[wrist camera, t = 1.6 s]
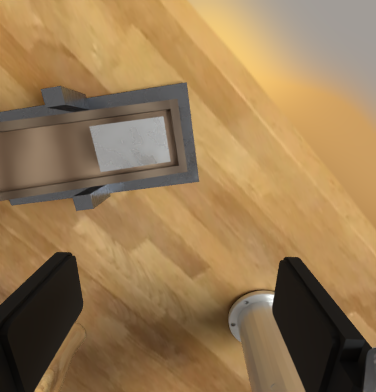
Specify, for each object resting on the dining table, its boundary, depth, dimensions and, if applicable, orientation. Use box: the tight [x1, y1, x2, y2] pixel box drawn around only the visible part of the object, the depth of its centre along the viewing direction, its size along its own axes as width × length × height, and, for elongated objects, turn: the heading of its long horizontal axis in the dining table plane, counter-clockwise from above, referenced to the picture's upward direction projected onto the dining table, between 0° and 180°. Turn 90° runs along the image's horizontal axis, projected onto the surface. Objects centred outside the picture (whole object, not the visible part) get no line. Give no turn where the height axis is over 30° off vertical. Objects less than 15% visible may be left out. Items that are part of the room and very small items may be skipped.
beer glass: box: [34, 322, 86, 392], centre depth 37 cm, size 7×7×15 cm
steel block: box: [89, 116, 171, 172], centre depth 26 cm, size 8×5×4 cm, turn 98°
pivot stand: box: [0, 82, 199, 211], centre depth 31 cm, size 31×15×7 cm, turn 98°
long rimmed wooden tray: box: [0, 99, 188, 201], centre depth 28 cm, size 28×9×2 cm, turn 98°
